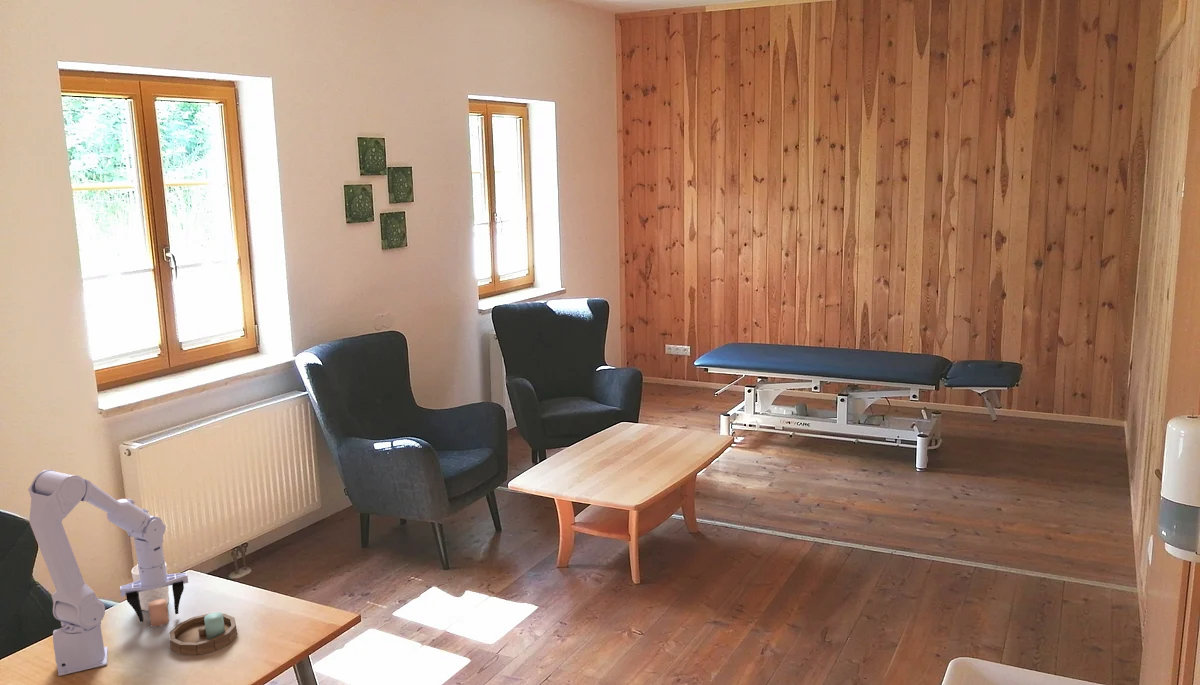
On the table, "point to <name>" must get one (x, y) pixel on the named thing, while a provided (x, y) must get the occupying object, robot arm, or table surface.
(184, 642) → the tray
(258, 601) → the table surface
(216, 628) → the pale teal rounded piece
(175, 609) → the robot arm
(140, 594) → the white cup
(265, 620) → the table surface
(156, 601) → the peach rounded cylinder
